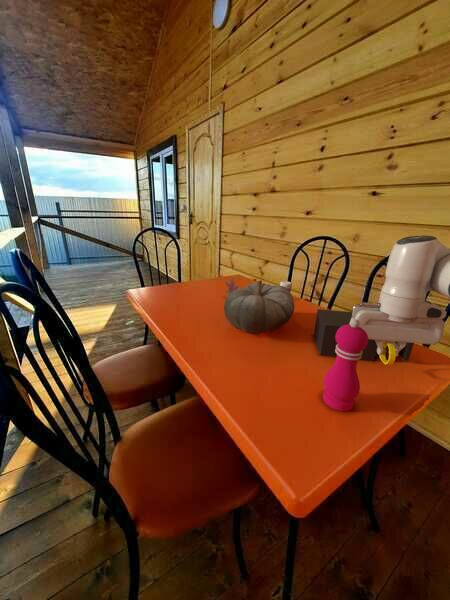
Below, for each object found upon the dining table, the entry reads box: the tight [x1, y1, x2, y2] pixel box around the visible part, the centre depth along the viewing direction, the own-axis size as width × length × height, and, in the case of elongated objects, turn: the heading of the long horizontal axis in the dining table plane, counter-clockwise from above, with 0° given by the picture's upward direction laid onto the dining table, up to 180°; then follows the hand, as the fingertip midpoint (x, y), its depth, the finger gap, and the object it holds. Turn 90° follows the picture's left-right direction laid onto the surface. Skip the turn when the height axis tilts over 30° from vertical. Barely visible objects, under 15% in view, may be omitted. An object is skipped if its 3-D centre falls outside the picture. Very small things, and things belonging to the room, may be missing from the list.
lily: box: [223, 275, 240, 298], centre depth 120 cm, size 12×12×10 cm
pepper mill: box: [322, 319, 368, 412], centre depth 53 cm, size 7×7×20 cm
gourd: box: [223, 280, 296, 336], centre depth 90 cm, size 25×25×17 cm
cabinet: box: [313, 308, 377, 362], centre depth 78 cm, size 15×13×10 cm
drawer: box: [375, 341, 415, 362], centre depth 77 cm, size 18×12×8 cm, turn 80°
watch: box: [378, 341, 397, 366], centre depth 66 cm, size 6×3×6 cm, turn 170°
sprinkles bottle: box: [279, 280, 293, 294], centre depth 103 cm, size 5×5×14 cm
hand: (386, 354), depth 66 cm, fingers closed on watch
